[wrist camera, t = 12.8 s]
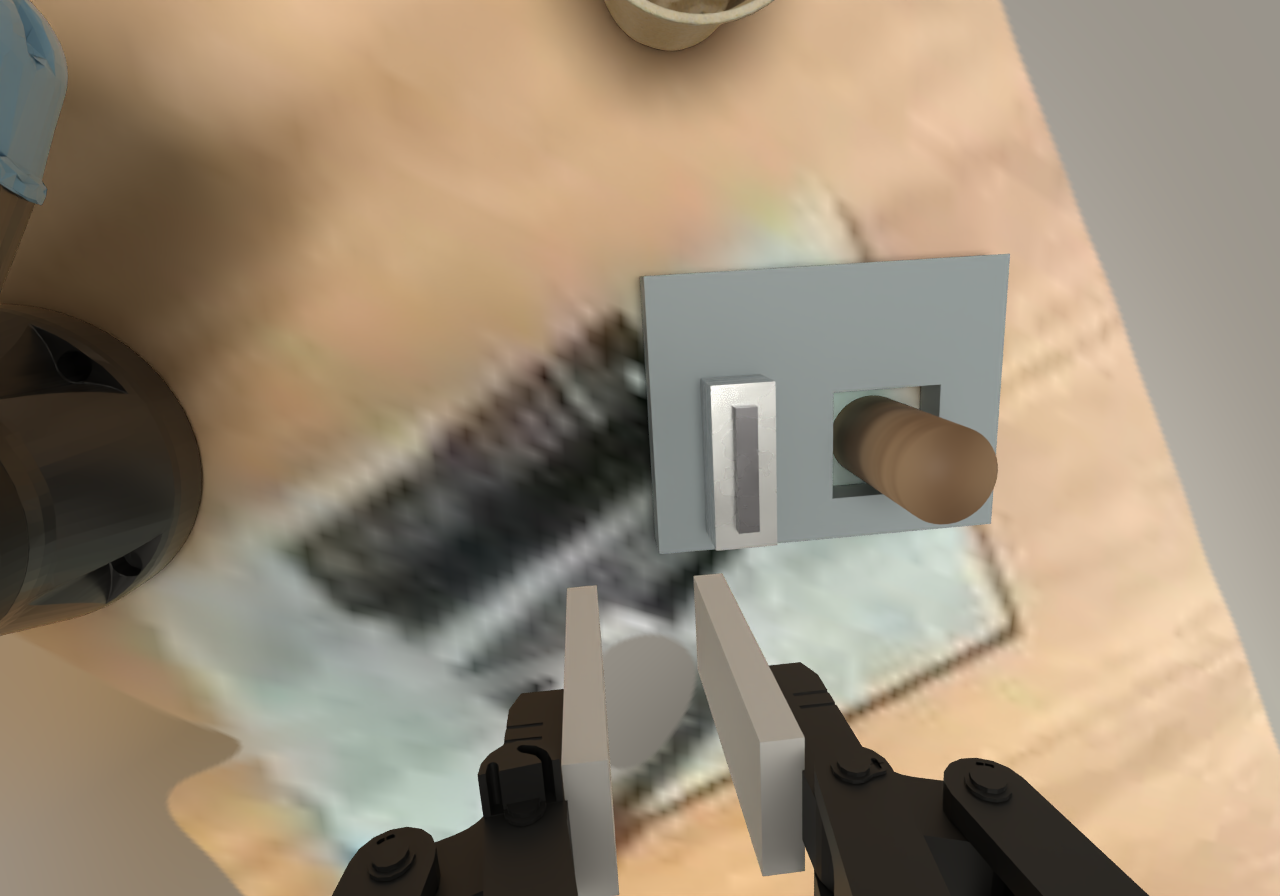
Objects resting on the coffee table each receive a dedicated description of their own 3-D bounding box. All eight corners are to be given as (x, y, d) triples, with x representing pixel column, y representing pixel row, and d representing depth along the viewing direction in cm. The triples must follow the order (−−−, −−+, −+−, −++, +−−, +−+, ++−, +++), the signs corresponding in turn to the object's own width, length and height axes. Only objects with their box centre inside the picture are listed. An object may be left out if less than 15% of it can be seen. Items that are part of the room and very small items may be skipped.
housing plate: (655, 539, 37) (659, 554, 35) (640, 276, 33) (643, 276, 31) (969, 511, 38) (990, 523, 36) (985, 255, 35) (1009, 253, 33)
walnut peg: (830, 477, 37) (897, 529, 29) (830, 399, 36) (900, 430, 28) (907, 470, 37) (994, 519, 29) (910, 392, 36) (1000, 421, 28)
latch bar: (706, 532, 35) (718, 555, 32) (700, 378, 33) (713, 388, 30) (763, 526, 35) (780, 549, 32) (760, 374, 33) (779, 383, 30)
